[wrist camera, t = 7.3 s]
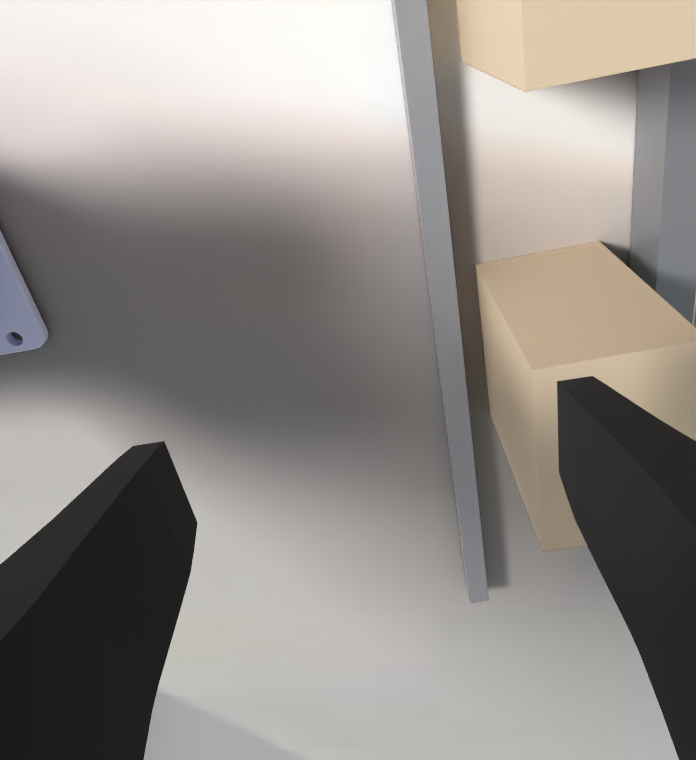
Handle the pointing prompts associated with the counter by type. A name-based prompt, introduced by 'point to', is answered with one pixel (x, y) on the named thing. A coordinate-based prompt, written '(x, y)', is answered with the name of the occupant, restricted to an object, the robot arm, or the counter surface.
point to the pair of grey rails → (647, 247)
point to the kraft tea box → (575, 361)
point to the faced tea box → (572, 38)
